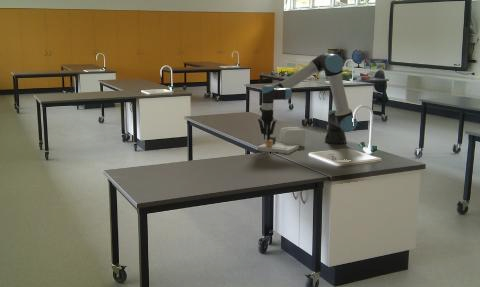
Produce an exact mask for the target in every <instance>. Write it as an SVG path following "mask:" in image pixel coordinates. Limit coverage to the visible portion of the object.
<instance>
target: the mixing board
mask: <svg viewBox="0 0 480 287" xmlns="http://www.w3.org/2000/svg"><path fill="white" fill-rule="evenodd" d="M299 148H300V146H299V145H291V144H284V143H281V142H276V143H273V146H272V147H268V146H267V145H265V143H263V144H261V145H258V146H257V151H261V152H268V153H269V152H270V153H276V152H278V153H277V154H284V153H286V154H285V155H289V153H290V154H292V153H293V151H294V152H295V150H296V151H298V150H299ZM297 149H298V150H297ZM291 152H292V153H291Z"/></svg>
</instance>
